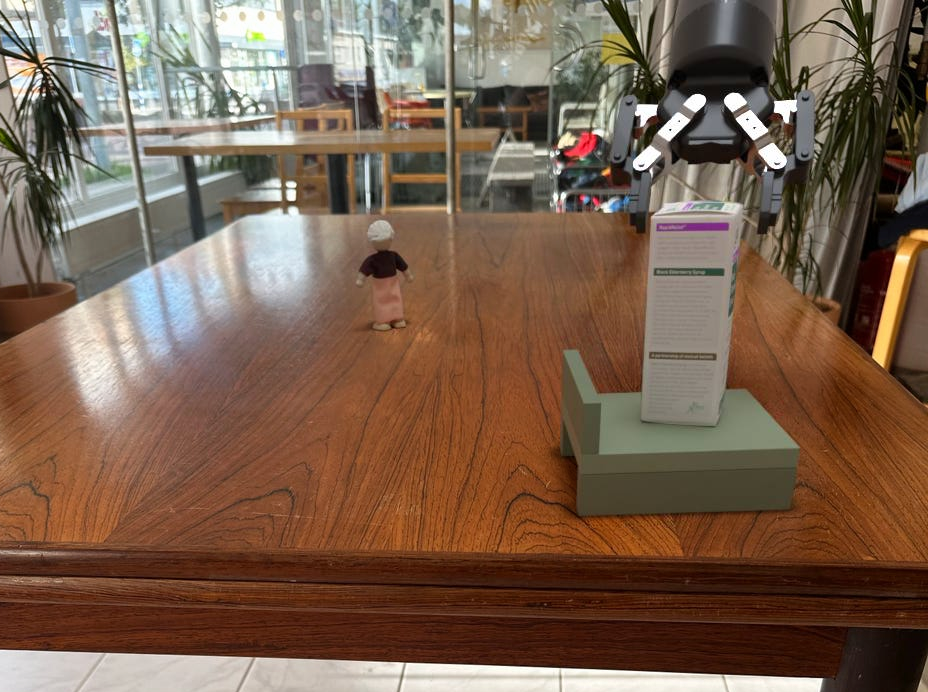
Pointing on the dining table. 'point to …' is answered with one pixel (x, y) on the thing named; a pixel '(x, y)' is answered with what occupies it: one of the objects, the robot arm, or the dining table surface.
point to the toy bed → (671, 454)
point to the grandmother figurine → (384, 277)
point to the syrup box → (689, 311)
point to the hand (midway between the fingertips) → (701, 227)
